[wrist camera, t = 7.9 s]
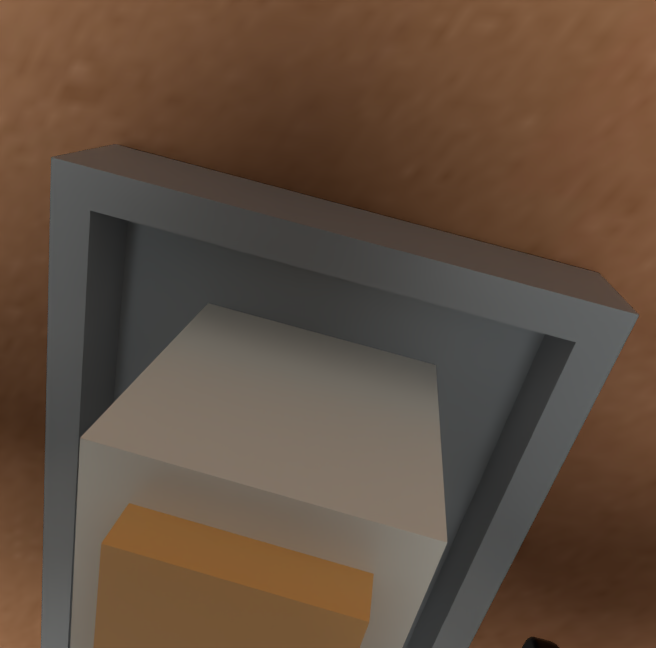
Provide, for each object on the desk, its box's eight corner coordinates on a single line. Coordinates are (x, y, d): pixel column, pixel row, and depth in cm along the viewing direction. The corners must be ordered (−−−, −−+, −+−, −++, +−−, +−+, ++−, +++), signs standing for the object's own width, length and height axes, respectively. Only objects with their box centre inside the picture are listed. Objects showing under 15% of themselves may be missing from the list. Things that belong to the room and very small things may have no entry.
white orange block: (435, 365, 9) (451, 591, 5) (339, 637, 12) (300, 922, 8) (208, 302, 10) (45, 474, 5) (166, 585, 12) (40, 839, 8)
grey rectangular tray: (598, 273, 9) (639, 314, 7) (403, 695, 14) (401, 779, 12) (115, 144, 9) (51, 156, 8) (84, 599, 14) (40, 668, 12)
